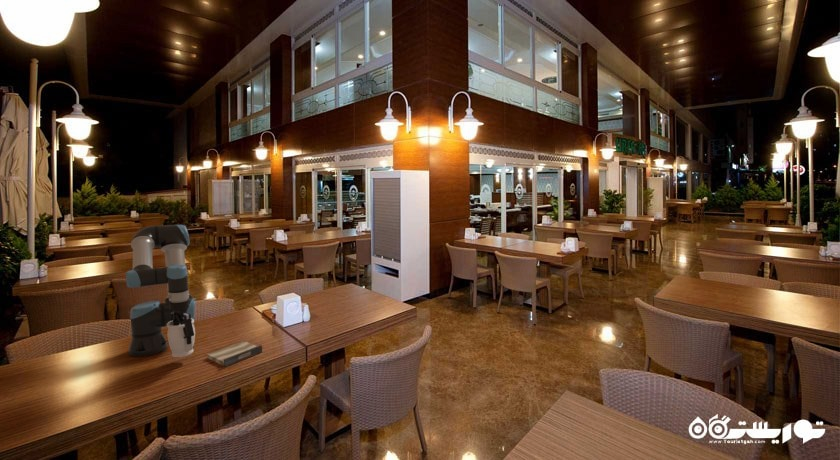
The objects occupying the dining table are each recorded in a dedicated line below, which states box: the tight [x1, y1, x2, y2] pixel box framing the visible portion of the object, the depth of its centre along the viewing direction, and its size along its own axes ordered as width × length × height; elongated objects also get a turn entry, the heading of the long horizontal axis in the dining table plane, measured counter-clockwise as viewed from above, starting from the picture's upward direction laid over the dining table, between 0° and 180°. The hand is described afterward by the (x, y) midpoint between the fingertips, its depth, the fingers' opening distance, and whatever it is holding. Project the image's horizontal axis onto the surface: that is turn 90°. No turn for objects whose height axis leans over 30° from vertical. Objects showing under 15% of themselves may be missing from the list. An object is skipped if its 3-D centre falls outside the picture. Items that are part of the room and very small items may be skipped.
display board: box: [206, 340, 263, 368], centre depth 175 cm, size 15×18×3 cm
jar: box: [166, 318, 196, 358], centre depth 167 cm, size 11×10×15 cm
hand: (182, 347), depth 167 cm, fingers closed on jar, 10 cm apart
